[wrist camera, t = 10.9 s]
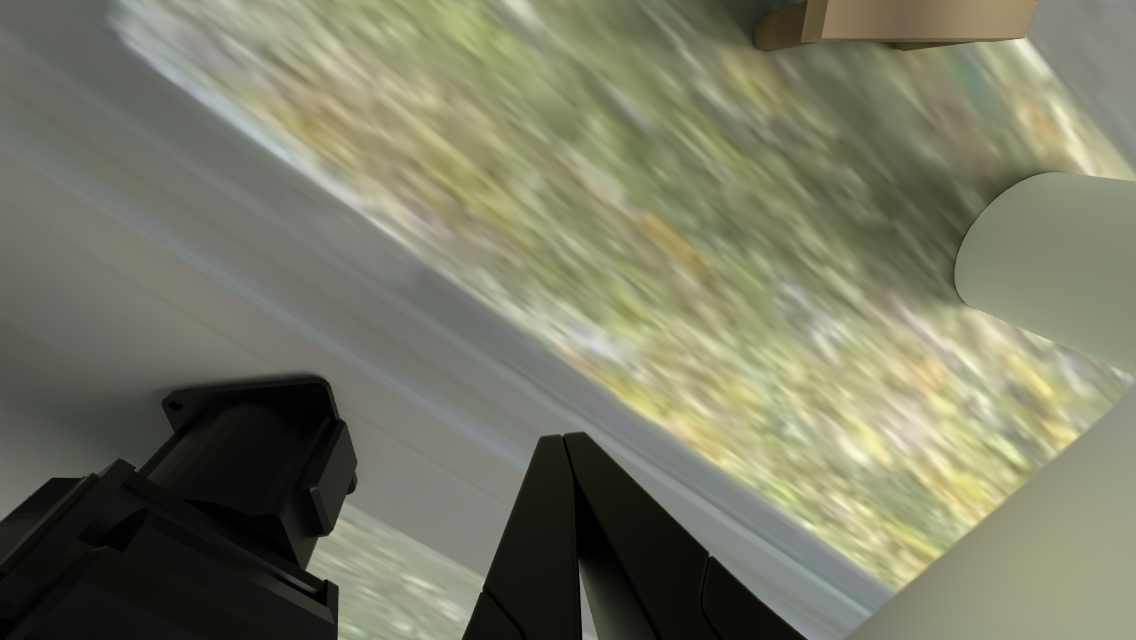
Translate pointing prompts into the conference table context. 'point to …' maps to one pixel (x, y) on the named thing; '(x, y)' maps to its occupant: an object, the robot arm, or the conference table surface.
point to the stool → (895, 22)
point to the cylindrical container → (1058, 263)
